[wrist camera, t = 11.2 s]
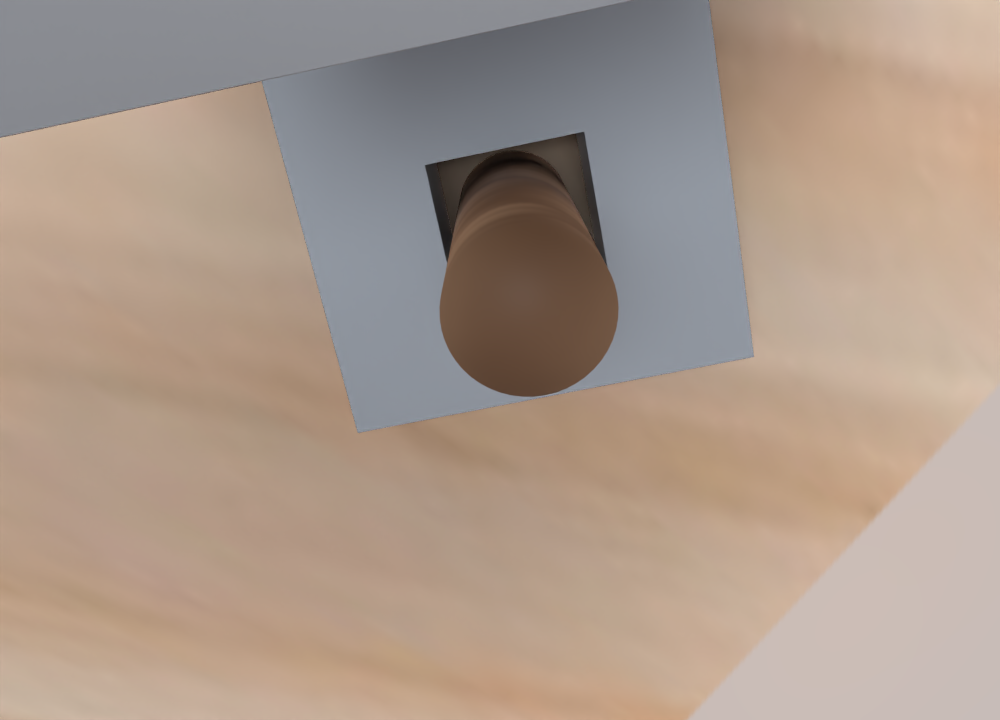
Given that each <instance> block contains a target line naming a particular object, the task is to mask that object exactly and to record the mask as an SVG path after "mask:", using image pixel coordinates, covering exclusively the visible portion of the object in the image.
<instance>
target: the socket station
mask: <svg viewBox="0 0 1000 720" xmlns="http://www.w3.org/2000/svg"><path fill="white" fill-rule="evenodd" d="M260 81H262V84H263V88H264V91H265V95H266V99H267V102H268V106H269V110H270V113H271V117H272V121H273V124H274V128H275V131H276V135H277V139H278V142H279V146H280V150H281V153H282V157H283V161H284V164H285V168H286V172H287V175H288V179H289V183H290V186H291V190H292V194H293V197H294V201H295V205H296V208H297V212H298V216H299V219H300V223H301V227H302V230H303V234H304V238H305V241H306V245H307V249H308V252H309V256H310V260H311V263H312V267H313V271H314V274H315V278H316V282H317V285H318V289H319V293H320V296H321V300H322V303H323V307H324V311H325V314H326V318H327V322H328V325H329V329H330V333H331V336H332V340H333V344H334V347H335V351H336V355H337V358H338V362H339V366H340V369H341V373H342V377H343V380H344V384H345V388H346V391H347V395H348V399H349V402H350V406H351V410H352V413H353V417H354V421H355V424H356V428H357V432H358V433H360V432H365V431H370V430H375V429H381V428H386V427H391V426H396V425H401V424H407V423H412V422H417V421H422V420H427V419H433V418H438V417H443V416H448V415H453V414H459V413H464V412H469V411H474V410H480V409H485V408H490V407H495V406H500V405H506V404H511V403H516V402H521V401H526V400H532V399H537V398H542V397H547V396H552V395H558V394H563V393H568V392H573V391H578V390H584V389H589V388H594V387H599V386H605V385H610V384H615V383H620V382H625V381H631V380H636V379H641V378H646V377H651V376H657V375H662V374H667V373H672V372H677V371H683V370H688V369H693V368H698V367H703V366H709V365H714V364H719V363H724V362H729V361H735V360H740V359H745V358H750V357H754V354H753V346H752V338H751V330H750V322H749V314H748V306H747V298H746V290H745V282H744V274H743V266H742V259H741V251H740V243H739V235H738V227H737V219H736V211H735V203H734V195H733V187H732V179H731V171H730V163H729V155H728V147H727V139H726V132H725V124H724V116H723V108H722V100H721V92H720V84H719V76H718V68H717V60H716V52H715V44H714V36H713V28H712V20H711V12H710V4H709V0H0V138H1V137H6V136H11V135H15V134H20V133H25V132H29V131H34V130H39V129H43V128H48V127H52V126H57V125H62V124H66V123H71V122H76V121H80V120H85V119H89V118H94V117H99V116H103V115H108V114H112V113H117V112H122V111H126V110H131V109H136V108H140V107H145V106H149V105H154V104H159V103H163V102H168V101H173V100H177V99H182V98H186V97H191V96H196V95H200V94H205V93H209V92H214V91H219V90H223V89H228V88H233V87H237V86H242V85H246V84H251V83H256V82H260ZM571 134H576V138H577V144H578V149H579V155H580V161H581V166H582V172H583V178H584V184H585V189H586V195H587V201H588V206H589V212H590V218H591V224H592V229H593V235H594V241H595V245H596V247H597V249H598V250H599V252H600V254H601V256H602V258H603V260H604V262H605V264H606V266H607V268H608V270H609V272H610V273H611V276H612V278H613V281H614V284H615V287H616V291H617V296H618V306H619V310H618V322H617V328H616V332H615V335H614V338H613V341H612V343H611V345H610V347H609V349H608V351H607V353H606V354H605V356H604V357H603V359H602V360H601V362H600V363H599V364H598V365H597V366H596V367H595V369H594V370H592V371H591V372H590V373H589V374H588V375H587V376H586V377H585V378H583V379H582V380H580V381H579V382H577V383H576V384H574V385H572V386H570V387H568V388H566V389H564V390H561V391H559V392H556V393H552V394H548V395H543V396H535V397H521V396H513V395H508V394H504V393H500V392H497V391H495V390H492V389H490V388H488V387H486V386H484V385H482V384H480V383H479V382H477V381H476V380H475V379H473V378H472V377H470V376H469V375H468V374H467V373H466V372H465V371H464V370H463V369H462V368H461V367H460V366H459V364H458V363H457V362H456V361H455V359H454V358H453V356H452V354H451V353H450V351H449V349H448V347H447V345H446V342H445V340H444V337H443V333H442V330H441V324H440V309H439V307H440V299H441V292H442V287H443V282H444V277H445V272H446V268H447V263H448V258H449V253H450V248H451V243H452V238H453V235H452V230H451V226H450V221H449V217H448V213H447V208H446V204H445V199H444V195H443V190H442V186H441V181H440V177H439V172H438V168H437V162H441V161H446V160H451V159H456V158H461V157H465V156H470V155H475V154H480V153H485V152H489V151H494V150H499V149H504V148H508V147H513V146H518V145H523V144H528V143H532V142H537V141H542V140H547V139H552V138H556V137H561V136H566V135H571Z"/></svg>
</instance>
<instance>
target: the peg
mask: <svg viewBox="0 0 1000 720" xmlns="http://www.w3.org/2000/svg"><path fill="white" fill-rule="evenodd" d="M439 309H440V324H441V330H442V333H443V337H444V340H445V342H446V345H447V347H448V349H449V351H450V353H451V354H452V356H453V358H454V359H455V361H456V362H457V363H458V364H459V366H460V367H461V368H462V369H463V370H464V371H465V372H466V373H467V374H468V375H469V376H470V377H472V378H473V379H475V380H476V381H477V382H479V383H480V384H482V385H484V386H486V387H488V388H490V389H492V390H495V391H497V392H500V393H504V394H508V395H513V396H521V397H535V396H543V395H548V394H552V393H556V392H559V391H561V390H564V389H566V388H568V387H570V386H572V385H574V384H576V383H577V382H579V381H580V380H582V379H583V378H585V377H586V376H587V375H588V374H589V373H590V372H591V371H592V370H594V369H595V367H596V366H597V365H598V364H599V363H600V362H601V360H602V359H603V357H604V356H605V354H606V353H607V351H608V349H609V347H610V345H611V343H612V341H613V338H614V335H615V332H616V328H617V322H618V310H619V306H618V296H617V291H616V287H615V284H614V281H613V278H612V276H611V273H610V272H609V270H608V268H607V266H606V264H605V262H604V260H603V258H602V256H601V254H600V252H599V250H598V249H597V247H596V245H595V243H594V241H593V239H592V237H591V235H590V233H589V231H588V229H587V227H586V226H585V224H584V222H583V220H582V218H581V216H580V214H579V212H578V210H577V208H576V206H575V205H574V203H573V201H572V199H571V197H570V195H569V193H568V191H567V189H566V187H565V185H564V183H563V182H562V180H561V178H560V176H559V175H558V173H557V172H556V170H555V169H554V168H553V167H552V166H551V165H550V164H549V163H547V162H546V161H545V160H543V159H542V158H540V157H538V156H536V155H534V154H531V153H527V152H523V151H505V152H501V153H497V154H495V155H492V156H490V157H488V158H486V159H485V160H483V161H482V162H481V163H479V164H478V165H477V166H476V167H475V168H474V169H473V170H472V172H471V173H470V174H469V176H468V178H467V180H466V181H465V184H464V186H463V189H462V193H461V198H460V203H459V208H458V213H457V218H456V223H455V228H454V233H453V238H452V243H451V248H450V253H449V258H448V263H447V268H446V272H445V277H444V282H443V287H442V292H441V299H440V307H439Z"/></svg>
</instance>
